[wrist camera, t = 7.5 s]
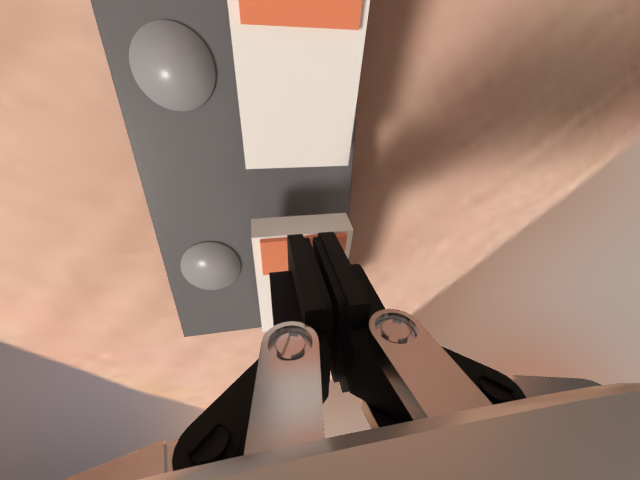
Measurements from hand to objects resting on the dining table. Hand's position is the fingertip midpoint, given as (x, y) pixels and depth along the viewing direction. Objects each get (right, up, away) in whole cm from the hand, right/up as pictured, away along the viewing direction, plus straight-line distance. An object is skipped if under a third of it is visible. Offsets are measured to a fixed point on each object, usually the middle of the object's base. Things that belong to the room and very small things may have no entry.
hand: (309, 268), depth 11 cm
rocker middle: (0, +7, -1) cm, 7 cm away
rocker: (-1, -1, +3) cm, 3 cm away
